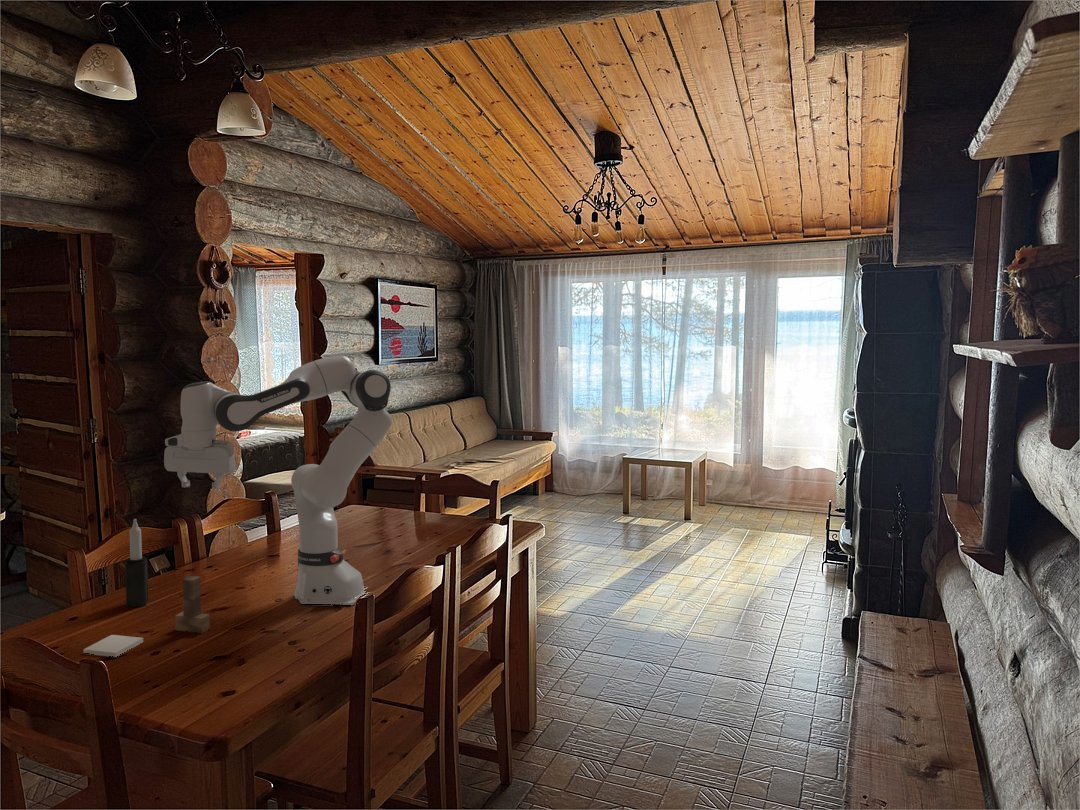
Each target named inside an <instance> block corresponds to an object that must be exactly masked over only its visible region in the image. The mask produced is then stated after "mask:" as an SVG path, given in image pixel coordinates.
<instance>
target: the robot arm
mask: <svg viewBox="0 0 1080 810" xmlns="http://www.w3.org/2000/svg"><path fill="white" fill-rule="evenodd" d="M391 389H392V387H391V381H390V379H389V377H388V376H387V375H386V374H385V373H384V372H382V371H380V370H375V369H370V370H366V371H363V372H362V371H361V372H360V371H359V370H357V368H356V367H355V364H354V363H353V361H352V360H351V359H350V358H349V357H348V356H346V355H342V354H340V355H333V356H328V357H324V358H320V359H316V360H313V361H309V362H307V363H304V364H302V365H300V366H299V367H297V368H295V369H293V370H292V371H290V373H289V375H288V377H287V378H286V379H285V380H284V381H283V382H281V383H280V384H278V385H276V386H273V387H270V388H268V389H264V390H262V391H260V392H257V393H254V394H248V395H246V394H245V395H243V394H240V393H237V392H234V391H230V390H227V389H225V388H222V387H219V386H218V385H216V384H215V383H213V382H212V381H209V380H204V381H198V382H192V383H189V384H186V385H185V386H183V388H182V391H181V393H180V394H181V395H180V416H181V419H182V425H181V429H180V430H181V433H179V434H177V435H174V436H171V437H170V436H169V437H167V438H165V440H164V445H165V446H166V448H165V449H164V455H163V463H164V465H163V466H164V469H165V470H166V471H167V472H176V473H177V477H178V478H179V480H180V483H181V488H190V487H191V480H190V479H188V478H187V474H188V473H201V474H214V478H215V481H214V482H213V481H212V483H211V489H213V490H218V489H220V488H221V482H222V481H223V478H224V476H225V475H226V474H232V473H234V472H235V470H236V469H237V465H236V464H237V463H236V458H235V448H234V447H235V446H234V444H232V443H231V442H230V441H229V440H221V439H217V425H220V426H221V428H223V429H225V430H227V431H229V432H241V431H242V432H243V431H245V430H247V429H248V428H250V427H251V426H252V425H254V423H255V422H256V421H258V420H259V419H260V418H261V417H263V416H265V415H268V414H269V413H272V412H275V411H277V410H279V409H283V408H285V407H287V406H289V405H294V404H297V403H302V402H308V401H313V400H317V399H320V398H324V397H326V396H329V395H331V394H334V393H338V392H341V393H342V394H343V396H345V398H346V399H347V401H348V402H349V404H351V405H352V406H353V407H356V408H358V409H357V412H356V414H355V416H354V418H353V419H352V420H351V421H350V422H349V423H348V424H347V425H346V426H345V428H344V429H342V431H340V433H339V434H338V435H337V436H336V437H335V438H334V439H333V440H332V442H331V443H330V445H329V448H328V451H327V453H326V455H325V457H324V458H323V460H322V461H321V463H320V464H316V463H307V464H302V465H300V466H298V467H297V468H296V469H295V470H294V471H293V473H292V475H291V480H290V481H291V483H290V484H291V487H292V489H293V494H294V496H293V497H294V502H295V508H296V513H297V519H298V535H299V537H298V540H299V541H298V543H299V546H298V549H297V566H298V575H297V580H296V581H297V583H296V588H295V591H294V595H293V597H294V596H295V597H294V599H295V600H297V599H298V600H297V601H299V604H300V603H301V604H331V605H330V606H333V605H332V604H340V605H341V604H343V605H351V606H355V605H356V604H355V602H356V600H357V599H358V598H359V597H360V596H362V595H364V594H368V593H372V591H371V592H367V593H365V592H366V591H364V590H365V589H367V588H368V587H369V586H364V581H363V576H362V573H361V572H360V571H359V570H357V569H356V568H355V567H354V566H352V565H351V564H350V563H348V562H347V561H346V560H344V555H345V554H346V551H347V549H344V550H341V549H340V547H339V545H338V535H339V534H338V533H339V532H338V520H337V517H336V514H335V511H334V508H335V507H337V506H339V505H340V504H342V503H343V501H345V499H346V496H347V493H348V487H349V485H350V483H351V481H352V480H353V479H354V476H355V474H357V471H358V469H360V467H361V465H362V464H363V463H364V462H365V461H366V460H367V458H369V456H370V454H371V453H373V451H374V450H375V449H376V448H377V447H378V445H380V443H381V442H382V441H383V439H384V438H385V436H386V435H387V433H388V431H389V430H390V428H391V426H392V417H391V415H390V413H389V412H388V410H386V409H385V408H387V406H388V403H389V399H390V394H391ZM364 587H366V588H364ZM301 604H300V605H301Z"/></svg>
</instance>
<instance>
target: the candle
mask: <svg viewBox="0 0 1080 810" xmlns="http://www.w3.org/2000/svg"><path fill="white" fill-rule="evenodd" d="M132 521H133V522H132V527H131V528H130V529H129V532H128V533H129V557H128V558H127V559H126V561H125V563H124V565H125V566H124V570H125V571H124V572H125V573H124V575H125V576H124V577H125V600H126V603H125V604H126V606H127V607H132V608H134V607H133V606H142V607H145V606H144V605H146V604H148V602H149V584H148V583H149V582H148V558H147V557H145V556H143V553H142V552H143V551H142V546H143V545H142V529H141V528H140V527H139V524H138V522H137V521H138V520H137V518H134V519H133V520H132ZM147 601H148V602H147ZM146 606H147V605H146ZM127 607H126V608H127Z"/></svg>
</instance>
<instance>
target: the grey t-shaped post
mask: <svg viewBox="0 0 1080 810" xmlns="http://www.w3.org/2000/svg"><path fill="white" fill-rule="evenodd" d="M201 587H202V584H201V576H197V575H189V576H186V577H185V578H182V607H183V608H182V609H183V610H182V611H181V612H179V613H177V614H176V615H174V620H175V621H174V623H175V626H174V627H175V628H174V630H175V631H179V632H186V631H188V633H195V632H197V634H204V633H205V632H208V629H209V630H210V629H211V625H210V624H211V623H210V621H211V620H210V619H211V618H210V617H211V615H210V614H209V613H203V612H202V594H201V593H202V592H201V591H202V588H201ZM203 632H204V633H203Z"/></svg>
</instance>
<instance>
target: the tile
mask: <svg viewBox="0 0 1080 810" xmlns="http://www.w3.org/2000/svg"><path fill="white" fill-rule="evenodd" d="M143 642H144V637H138V636H137V637H136V636H127V635H118V634H111V635H109V636H106V637H105V638H102V639H101V640H99V641H97V642H95V643H93V644H91V645H89V646H87V647H86V648H83V654H84V653H90V654H89V655H91V654H94V655H93V656H102V657H109V656H111V657H112V656H113V657H112V658H118V657H119V656H121V655H123V654H125V653H127V652H128V651H130V650H131V648H132V649H134V648H135V647H137V646H139V645H140V643H141V644H142V643H143ZM129 649H130V650H129ZM127 650H128V651H127ZM124 652H125V653H124ZM122 653H123V654H122ZM120 654H121V655H120ZM117 656H118V657H117ZM111 657H110V658H111Z"/></svg>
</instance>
